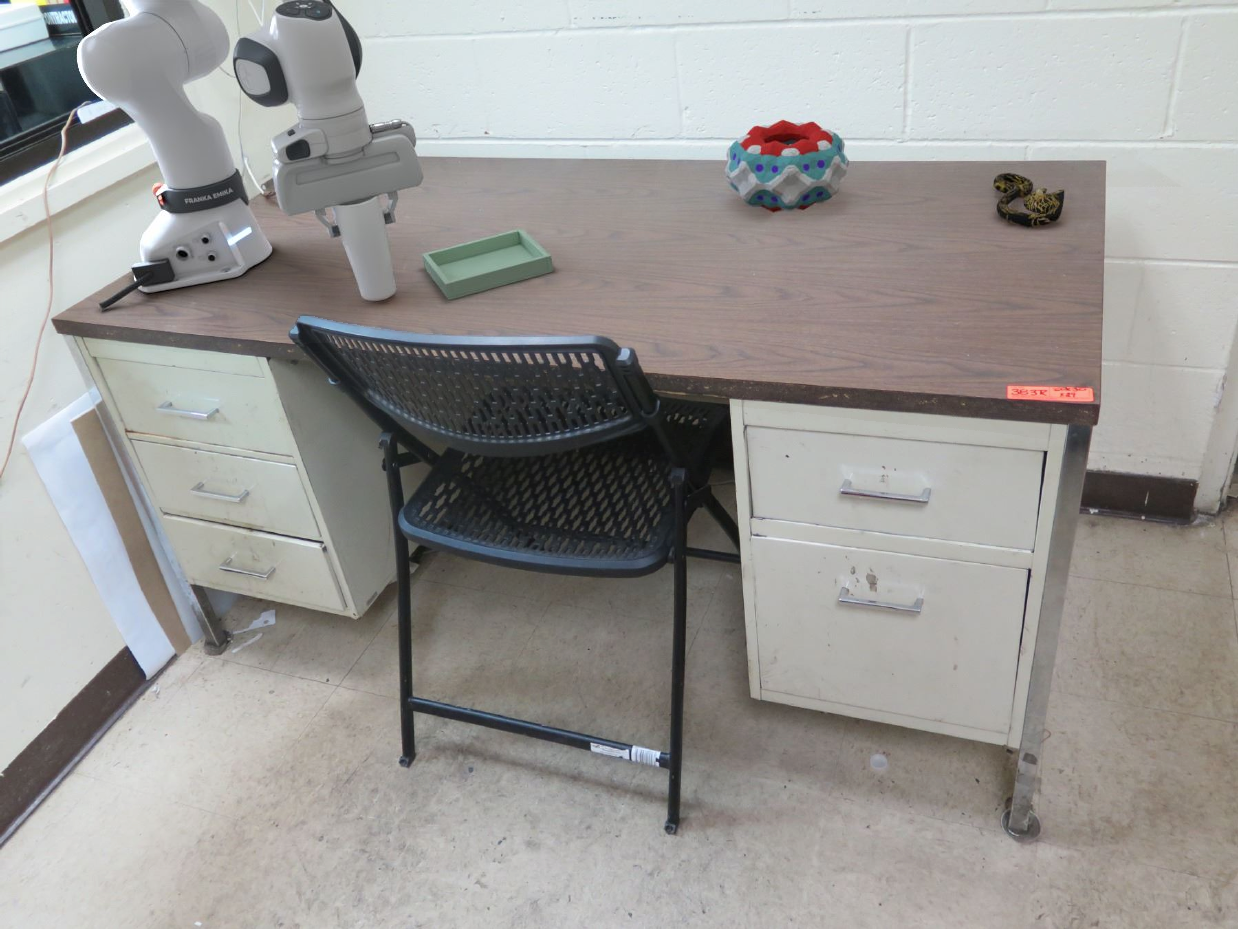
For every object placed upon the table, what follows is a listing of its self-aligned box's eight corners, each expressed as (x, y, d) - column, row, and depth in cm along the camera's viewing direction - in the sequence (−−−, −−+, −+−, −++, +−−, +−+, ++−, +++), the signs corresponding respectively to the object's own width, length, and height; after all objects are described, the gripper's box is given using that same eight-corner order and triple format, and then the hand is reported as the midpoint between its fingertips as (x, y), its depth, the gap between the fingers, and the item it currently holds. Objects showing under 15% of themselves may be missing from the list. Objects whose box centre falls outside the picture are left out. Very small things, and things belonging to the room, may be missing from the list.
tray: (448, 300, 145) (445, 283, 143) (425, 269, 155) (421, 253, 154) (553, 271, 149) (551, 255, 148) (524, 243, 160) (521, 228, 158)
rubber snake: (999, 153, 156) (1066, 159, 154) (993, 181, 159) (1059, 187, 156) (991, 198, 143) (1065, 205, 140) (985, 228, 146) (1057, 235, 143)
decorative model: (810, 80, 163) (845, 109, 146) (839, 158, 170) (876, 194, 154) (705, 136, 166) (728, 171, 149) (738, 210, 174) (763, 251, 157)
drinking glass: (372, 283, 151) (346, 188, 142) (410, 286, 148) (387, 189, 140) (348, 303, 146) (320, 205, 137) (387, 306, 143) (362, 206, 135)
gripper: (405, 111, 139) (426, 205, 147) (258, 142, 133) (289, 239, 141) (416, 120, 134) (437, 218, 142) (264, 153, 128) (295, 253, 136)
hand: (362, 229), depth 141 cm, fingers closed on drinking glass, 7 cm apart
